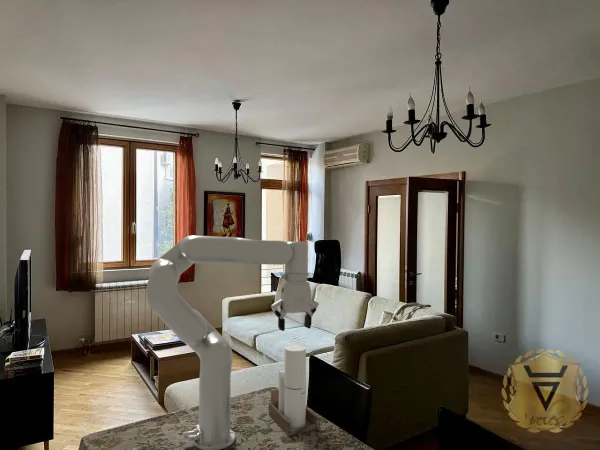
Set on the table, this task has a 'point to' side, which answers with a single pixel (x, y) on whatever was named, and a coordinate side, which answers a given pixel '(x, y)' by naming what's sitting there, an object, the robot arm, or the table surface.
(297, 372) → the cylindrical container
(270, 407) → the brown wooden tray
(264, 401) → the table surface
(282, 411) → the block
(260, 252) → the robot arm
